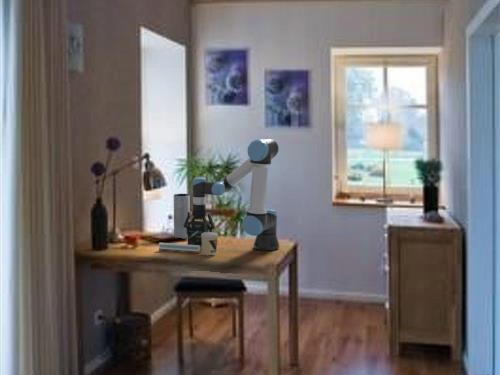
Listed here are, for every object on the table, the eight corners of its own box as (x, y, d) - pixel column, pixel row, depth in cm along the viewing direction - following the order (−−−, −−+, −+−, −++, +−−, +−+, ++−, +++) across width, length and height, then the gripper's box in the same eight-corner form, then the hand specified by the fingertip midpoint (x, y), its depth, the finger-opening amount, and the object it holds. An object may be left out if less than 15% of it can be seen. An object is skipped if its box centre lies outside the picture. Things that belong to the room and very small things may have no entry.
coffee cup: (211, 257, 365) (211, 236, 364) (197, 255, 370) (197, 234, 368) (221, 254, 373) (221, 233, 371) (207, 252, 378) (207, 231, 376)
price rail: (199, 250, 374) (199, 245, 373) (198, 251, 372) (198, 245, 372) (159, 248, 380) (159, 242, 379) (158, 248, 378) (158, 243, 378)
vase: (193, 236, 419) (192, 194, 415) (183, 239, 410) (183, 196, 407) (180, 235, 424) (180, 193, 420) (170, 237, 415) (170, 195, 412)
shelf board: (206, 248, 386) (206, 246, 386) (198, 254, 373) (198, 251, 373) (168, 245, 392) (168, 243, 392) (159, 251, 379) (159, 248, 379)
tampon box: (211, 244, 397) (211, 220, 395) (203, 247, 388) (203, 223, 386) (194, 243, 401) (194, 219, 399) (187, 246, 393) (187, 221, 391)
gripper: (220, 203, 392) (220, 239, 395) (182, 201, 398) (182, 237, 401) (216, 205, 385) (216, 242, 388) (177, 203, 391) (178, 239, 394)
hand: (199, 239), depth 394 cm, fingers closed on tampon box, 12 cm apart
